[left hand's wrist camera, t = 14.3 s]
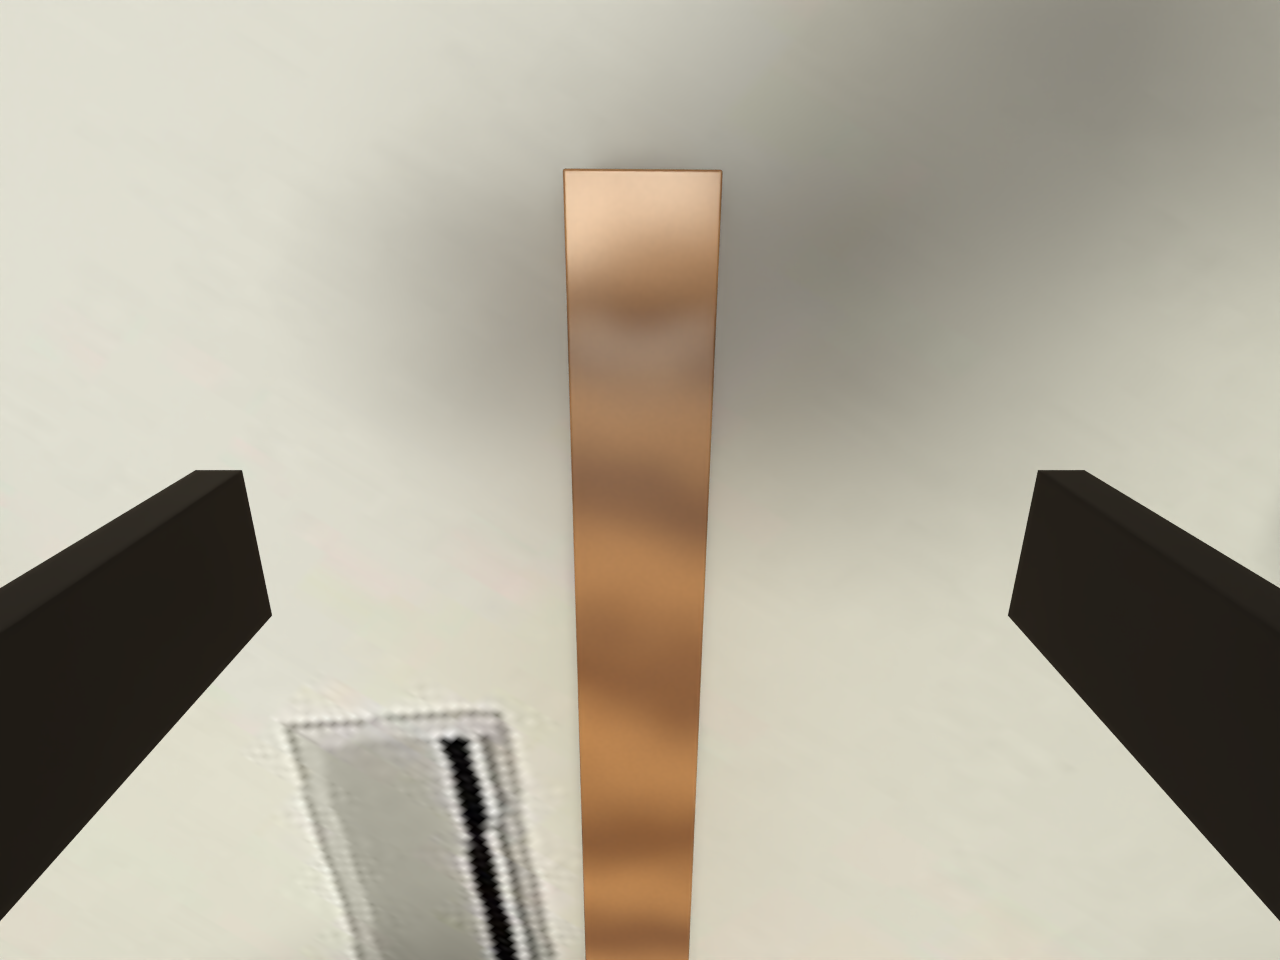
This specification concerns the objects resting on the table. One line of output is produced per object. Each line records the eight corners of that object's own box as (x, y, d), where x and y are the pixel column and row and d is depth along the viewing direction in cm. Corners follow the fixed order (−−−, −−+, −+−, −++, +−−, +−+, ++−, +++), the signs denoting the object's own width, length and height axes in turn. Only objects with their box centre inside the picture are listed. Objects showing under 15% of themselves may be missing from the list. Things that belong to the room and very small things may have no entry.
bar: (583, 177, 29) (562, 168, 21) (700, 178, 29) (722, 169, 21) (602, 1106, 51) (594, 1278, 43) (669, 1107, 51) (675, 1278, 43)
